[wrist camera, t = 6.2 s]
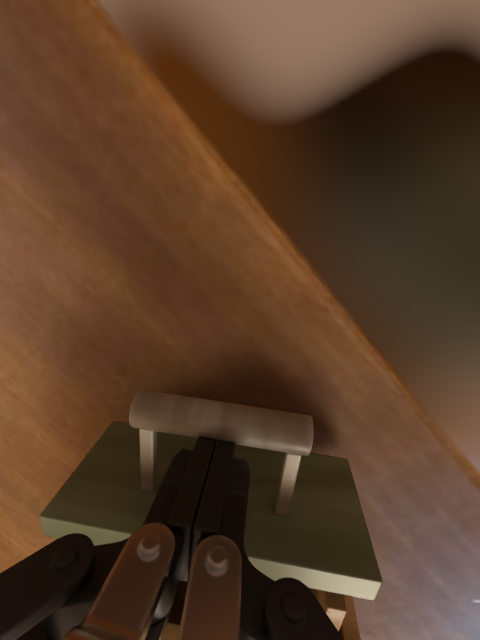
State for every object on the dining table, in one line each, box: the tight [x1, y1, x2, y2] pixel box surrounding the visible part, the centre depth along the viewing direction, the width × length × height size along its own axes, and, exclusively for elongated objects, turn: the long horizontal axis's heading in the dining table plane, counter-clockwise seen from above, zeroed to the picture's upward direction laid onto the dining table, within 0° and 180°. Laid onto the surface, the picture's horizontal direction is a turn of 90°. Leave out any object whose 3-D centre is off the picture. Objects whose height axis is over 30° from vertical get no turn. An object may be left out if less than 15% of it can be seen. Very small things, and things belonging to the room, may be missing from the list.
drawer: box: [40, 389, 382, 632], centre depth 16 cm, size 20×13×6 cm
